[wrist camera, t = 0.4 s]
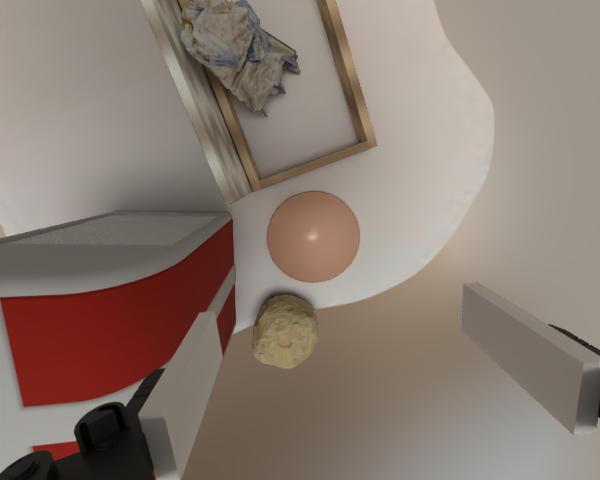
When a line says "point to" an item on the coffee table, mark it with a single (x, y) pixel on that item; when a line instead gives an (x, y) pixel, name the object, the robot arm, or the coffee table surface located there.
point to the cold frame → (219, 110)
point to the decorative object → (284, 331)
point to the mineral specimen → (236, 49)
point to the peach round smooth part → (313, 237)
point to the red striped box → (101, 315)
